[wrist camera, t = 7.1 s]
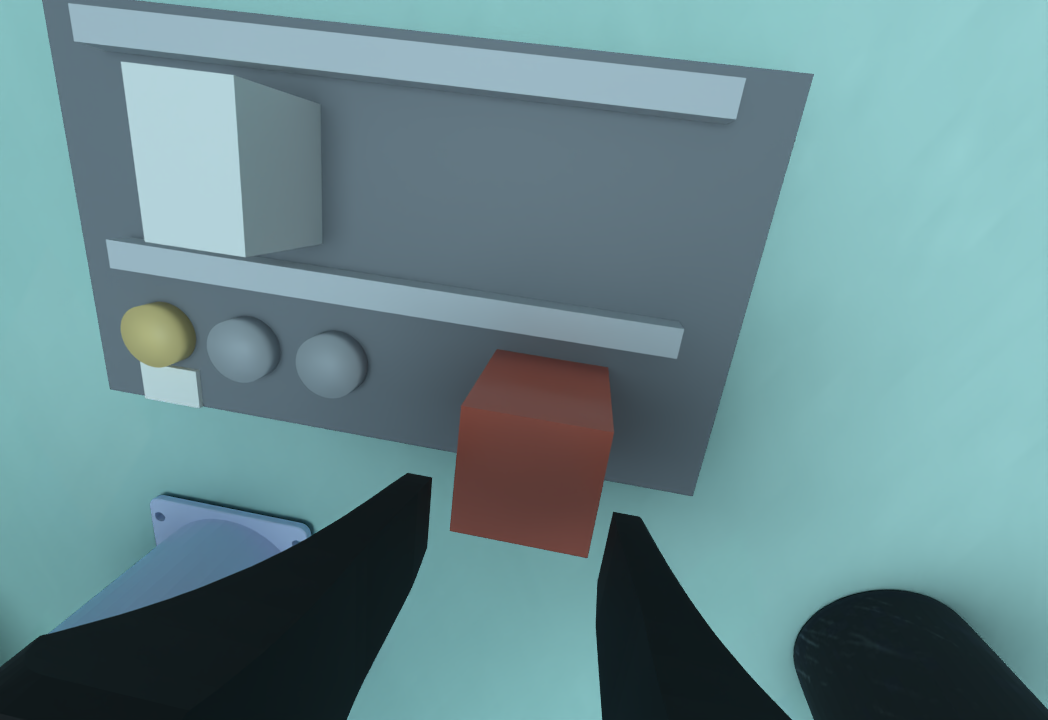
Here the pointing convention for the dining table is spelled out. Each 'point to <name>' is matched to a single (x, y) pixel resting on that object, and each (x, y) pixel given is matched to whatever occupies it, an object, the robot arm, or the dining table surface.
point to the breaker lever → (223, 161)
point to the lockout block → (533, 452)
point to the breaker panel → (441, 226)
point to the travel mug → (904, 664)
